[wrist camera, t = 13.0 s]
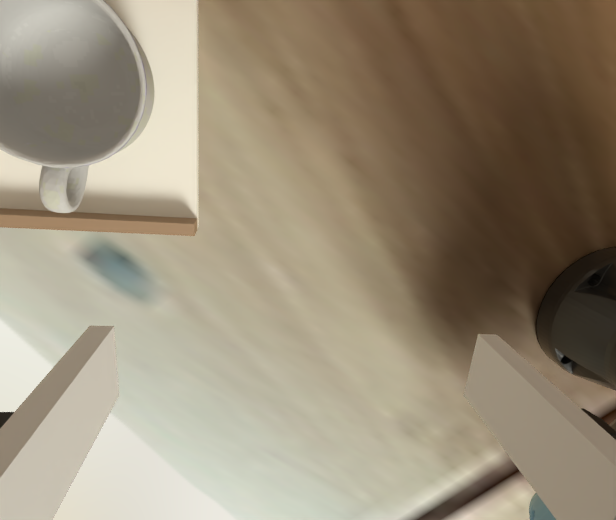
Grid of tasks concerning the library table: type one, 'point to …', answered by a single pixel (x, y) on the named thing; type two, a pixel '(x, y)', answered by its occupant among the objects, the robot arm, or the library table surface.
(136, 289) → the library table surface
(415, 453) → the library table surface
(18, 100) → the teacup
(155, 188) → the beige tray
